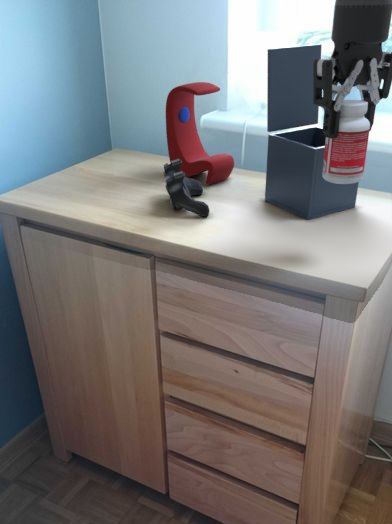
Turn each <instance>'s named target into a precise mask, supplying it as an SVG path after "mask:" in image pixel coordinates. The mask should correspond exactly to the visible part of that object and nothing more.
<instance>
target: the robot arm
mask: <svg viewBox="0 0 392 524" xmlns="http://www.w3.org/2000/svg"><path fill="white" fill-rule="evenodd" d="M333 5H334V6H333V16H332V23H331V24H332V26H331V33H330V34H331V36H330V38H331V41H332V42H333V50H332V53H331V56H330V57H328V58H321V59H315V61H314V64H313V103H314V105H317V106H319V108H322V109H323V120H322V121H323V123H322V128H323V133H324V136H325V137H327V138H331V139H333V138H337V136H338V130H339V121H340V113H341V111H339V110H340V108H341V105H342V103H343V101H344V100H345V98H346V97H347V96H349V94H350V93H351V91H352V89H353V88H354V87H356V89H358V91H359V96H360V100H362V101H366V102H368V107H367V112H366V114H364V117H365V118H367V119H368V121H369V122H370V130H369V132H371V131H372V128H373V125H374V122H375V114H376V108H377V105H378V104H379V103H380V101H381V100H383V99H385V100H386V99H387V98H389V95H390V91H391V88H392V87H391V86H392V51H383V43H386V42H387V40H388V39H389V35H390V28H391V21H392V0H334V4H333ZM382 81H383V82H382ZM381 85H382V87H381Z"/></svg>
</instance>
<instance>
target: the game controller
mask: <svg viewBox="0 0 392 524" xmlns="http://www.w3.org/2000/svg"><path fill="white" fill-rule="evenodd" d="M171 162H172V163H168V162H166V163H164V164H163V170H164V171H163V176H164V179H165V183H166V184H165V186H164V187H165V190H166V192H167V194H168V197H169V199H170V201H169V204H170V205H171V207H172V209H173V210H175V211H176V210H177V208H178V209H179V210H185V211H188V212H191V213H194V214H195V215H198V216H201V217H208V216H209V215H210V212H211V211H210V207H209V205H208V204H207V203H206V202H205V201H201V200H195V199H194V198H192V195H193V196H194V195H195V196H201V195H203V193H204V188H203V184H202V183H201V181H199V180H197V179H195V178H191V177H185V173H183V172H182V171H181V172H180V166H181V164H182V160H180V159H176V160H173V161H171Z"/></svg>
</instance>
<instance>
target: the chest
mask: <svg viewBox="0 0 392 524" xmlns="http://www.w3.org/2000/svg"><path fill="white" fill-rule="evenodd" d="M267 137H268V139H267V152H266V153H267V154H266V171H265V189H264V190H265V191H264V192H265V193H264V201H266V202H268V203H270V204H272V205H275V206H277V207H279V208H281V209H284V210H286V211H288V212H290V213H292V214H293V215H296V216H298V217H301V218H303V219H305V220H312V219H317V218H320V217H323V216H327V215H330V214H335V213H338V212H341V211H345V210H349V209H354V208H355V207H356V204H357V197H358V190H359V182H360V181H359V182H356V183H351V184H336V183H332V182H328V181H326V180H325V179H324V178H323V176H322V174H323V162H324V152H325V141H326V137H325V136H324V133H323V126H319V125H315V126H307V127H303V128H297V129H296V128H295V129H291V130H285V131H279V132H274V133H269V134H268V135H267Z"/></svg>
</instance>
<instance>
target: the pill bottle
mask: <svg viewBox="0 0 392 524" xmlns="http://www.w3.org/2000/svg"><path fill="white" fill-rule="evenodd" d="M367 107H368V102H366V101H362V100H361V99H344V101H343V103H342V105H341V108H340V110H339V111H341V113H340V121H339V130H338V136H337V138H333V139H331V138H327V137H326V141H325V152H324V162H323V174H322V176H323V178H324V179H325V180H326V181H328V182H332V183H336V184H351V183H356V182H361V181H363V178H364V174H365V173H364V172H365V166H366V159H367V151H368V146H369V145H368V144H369V137H370V131H369V130H370V122H369V121H368V119H367V118H365V117H364V114H366V112H367Z"/></svg>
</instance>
